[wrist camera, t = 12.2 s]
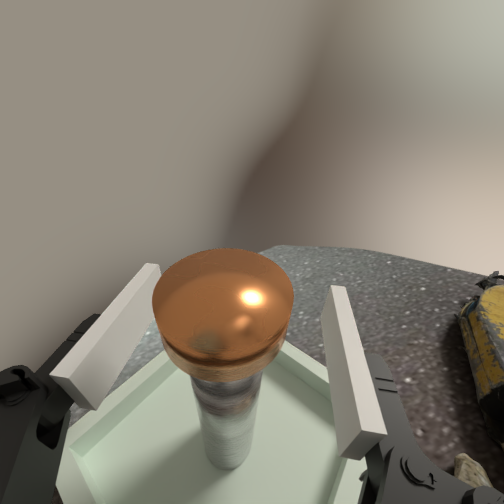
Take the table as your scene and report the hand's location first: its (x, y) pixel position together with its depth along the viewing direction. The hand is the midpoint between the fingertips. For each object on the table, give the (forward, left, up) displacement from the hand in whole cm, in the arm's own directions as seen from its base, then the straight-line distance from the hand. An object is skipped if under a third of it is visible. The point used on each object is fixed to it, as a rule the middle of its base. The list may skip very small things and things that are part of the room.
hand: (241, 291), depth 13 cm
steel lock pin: (-2, +4, -9) cm, 10 cm away
